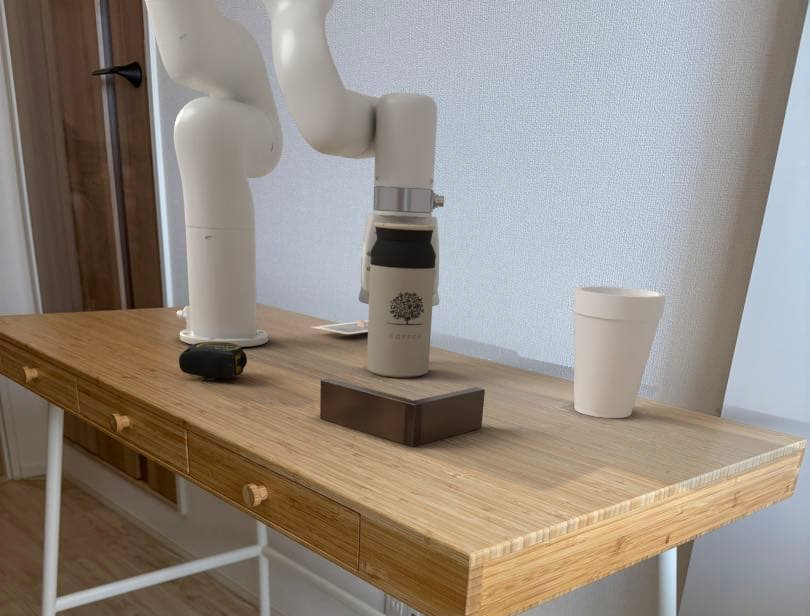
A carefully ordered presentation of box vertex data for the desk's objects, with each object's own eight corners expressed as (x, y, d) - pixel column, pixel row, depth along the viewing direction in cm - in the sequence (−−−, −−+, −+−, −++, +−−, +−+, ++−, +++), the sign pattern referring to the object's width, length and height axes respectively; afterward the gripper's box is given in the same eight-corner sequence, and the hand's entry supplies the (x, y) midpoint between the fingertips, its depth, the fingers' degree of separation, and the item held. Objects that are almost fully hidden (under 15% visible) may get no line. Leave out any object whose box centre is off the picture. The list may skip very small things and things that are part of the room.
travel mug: (368, 364, 111) (374, 220, 104) (428, 367, 111) (437, 224, 104) (364, 376, 104) (369, 223, 97) (427, 380, 104) (437, 226, 97)
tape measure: (176, 380, 97) (174, 347, 95) (203, 369, 103) (201, 338, 102) (231, 386, 96) (230, 353, 94) (254, 374, 102) (254, 343, 100)
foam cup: (544, 402, 96) (558, 285, 91) (610, 399, 99) (627, 286, 94) (593, 424, 88) (611, 297, 83) (662, 419, 91) (684, 297, 86)
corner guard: (319, 418, 84) (320, 379, 83) (390, 403, 92) (392, 367, 90) (412, 447, 77) (414, 404, 75) (481, 428, 84) (485, 389, 82)
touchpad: (310, 334, 131) (310, 320, 130) (373, 326, 142) (374, 313, 141) (346, 341, 126) (347, 327, 126) (409, 332, 137) (409, 319, 136)
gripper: (457, 205, 110) (448, 346, 117) (344, 200, 109) (342, 342, 116) (464, 207, 103) (454, 356, 110) (343, 201, 102) (341, 352, 109)
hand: (396, 348), depth 113 cm, fingers closed
